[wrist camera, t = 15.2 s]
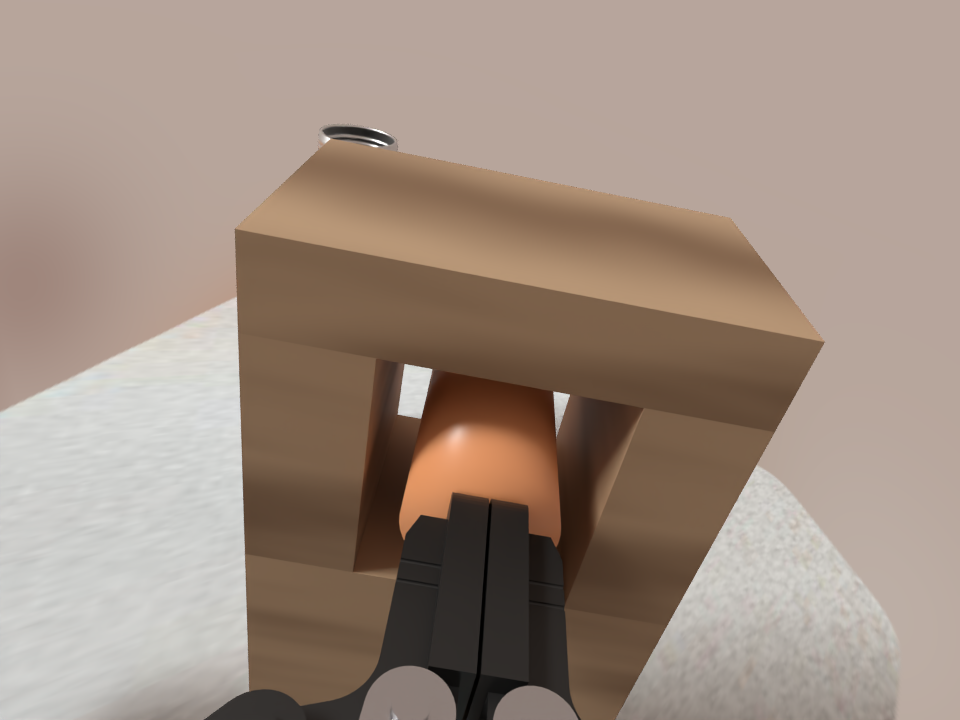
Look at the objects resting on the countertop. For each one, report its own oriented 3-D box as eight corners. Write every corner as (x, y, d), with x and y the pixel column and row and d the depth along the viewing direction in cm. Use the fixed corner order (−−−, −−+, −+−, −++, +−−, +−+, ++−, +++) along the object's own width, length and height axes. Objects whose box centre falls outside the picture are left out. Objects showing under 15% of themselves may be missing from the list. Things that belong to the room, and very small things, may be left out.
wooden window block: (533, 886, 24) (847, 346, 11) (254, 844, 23) (234, 228, 10) (532, 722, 29) (746, 221, 16) (302, 685, 28) (330, 138, 15)
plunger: (540, 592, 14) (579, 484, 12) (391, 567, 13) (408, 453, 12) (536, 398, 19) (562, 307, 18) (432, 379, 19) (449, 285, 18)
